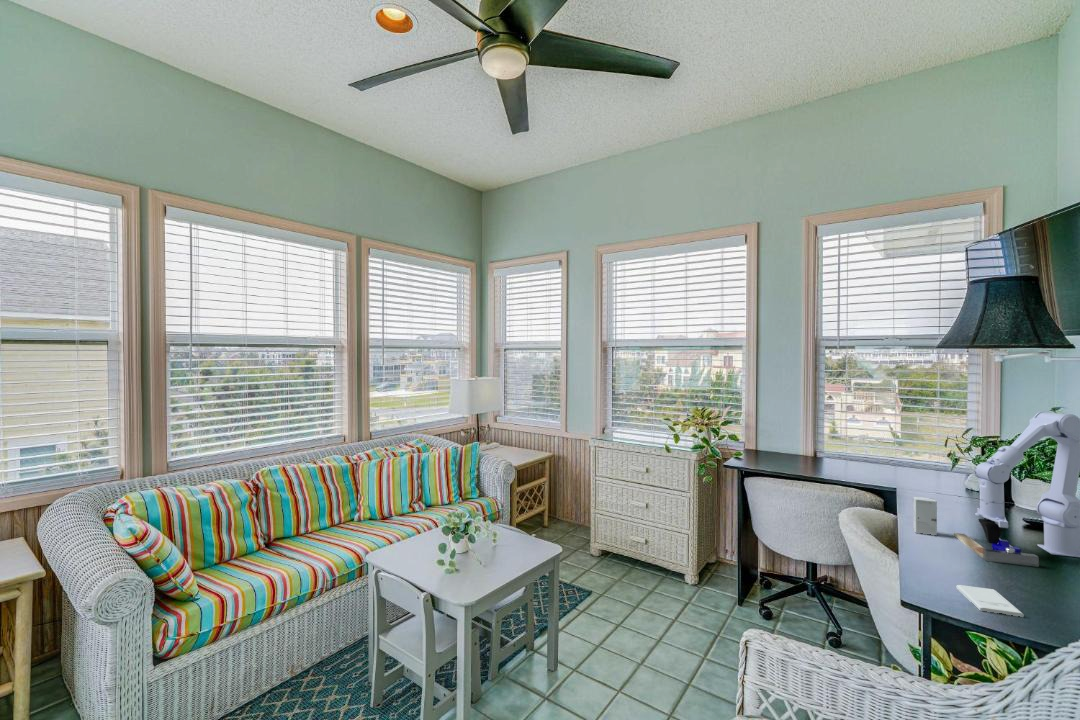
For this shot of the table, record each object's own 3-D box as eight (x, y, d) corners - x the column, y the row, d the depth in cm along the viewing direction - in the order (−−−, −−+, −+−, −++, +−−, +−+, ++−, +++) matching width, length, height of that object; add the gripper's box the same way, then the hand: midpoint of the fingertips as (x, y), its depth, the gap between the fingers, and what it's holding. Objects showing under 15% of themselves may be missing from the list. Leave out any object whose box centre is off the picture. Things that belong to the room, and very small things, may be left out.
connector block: (1034, 564, 140) (1034, 550, 141) (1038, 567, 139) (1038, 552, 139) (983, 558, 145) (983, 544, 145) (986, 561, 143) (986, 547, 143)
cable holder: (992, 551, 151) (992, 538, 151) (1006, 552, 149) (1006, 540, 149) (1006, 560, 143) (1005, 547, 143) (1021, 562, 142) (1020, 549, 142)
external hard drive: (995, 595, 123) (1023, 619, 112) (956, 590, 126) (980, 613, 115) (995, 589, 123) (1023, 612, 112) (956, 584, 126) (979, 606, 115)
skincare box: (915, 533, 167) (914, 499, 167) (913, 529, 171) (912, 496, 171) (937, 536, 164) (937, 501, 164) (934, 532, 168) (934, 498, 168)
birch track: (998, 540, 160) (997, 536, 160) (1034, 564, 140) (1034, 560, 140) (953, 535, 164) (953, 532, 164) (983, 558, 145) (983, 554, 145)
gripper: (965, 493, 160) (966, 534, 160) (987, 505, 146) (988, 549, 146) (992, 495, 157) (993, 536, 157) (1016, 508, 144) (1017, 552, 144)
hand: (992, 543), depth 151 cm, fingers closed
